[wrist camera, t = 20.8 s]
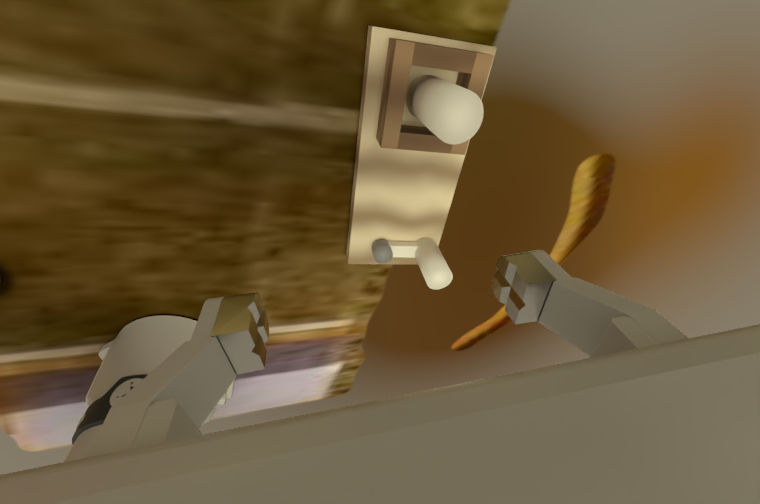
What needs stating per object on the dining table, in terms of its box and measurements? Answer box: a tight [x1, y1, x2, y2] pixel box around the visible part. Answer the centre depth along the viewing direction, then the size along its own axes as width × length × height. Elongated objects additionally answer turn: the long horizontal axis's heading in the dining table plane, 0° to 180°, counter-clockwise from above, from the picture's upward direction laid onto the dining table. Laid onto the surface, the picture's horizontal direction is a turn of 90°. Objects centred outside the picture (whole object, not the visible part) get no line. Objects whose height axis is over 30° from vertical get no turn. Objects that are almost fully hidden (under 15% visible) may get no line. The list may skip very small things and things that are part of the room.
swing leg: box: [372, 238, 453, 289], centre depth 40 cm, size 9×3×6 cm, turn 81°
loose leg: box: [406, 75, 484, 145], centre depth 28 cm, size 4×4×9 cm
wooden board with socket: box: [346, 25, 497, 264], centre depth 36 cm, size 26×12×5 cm, turn 172°
